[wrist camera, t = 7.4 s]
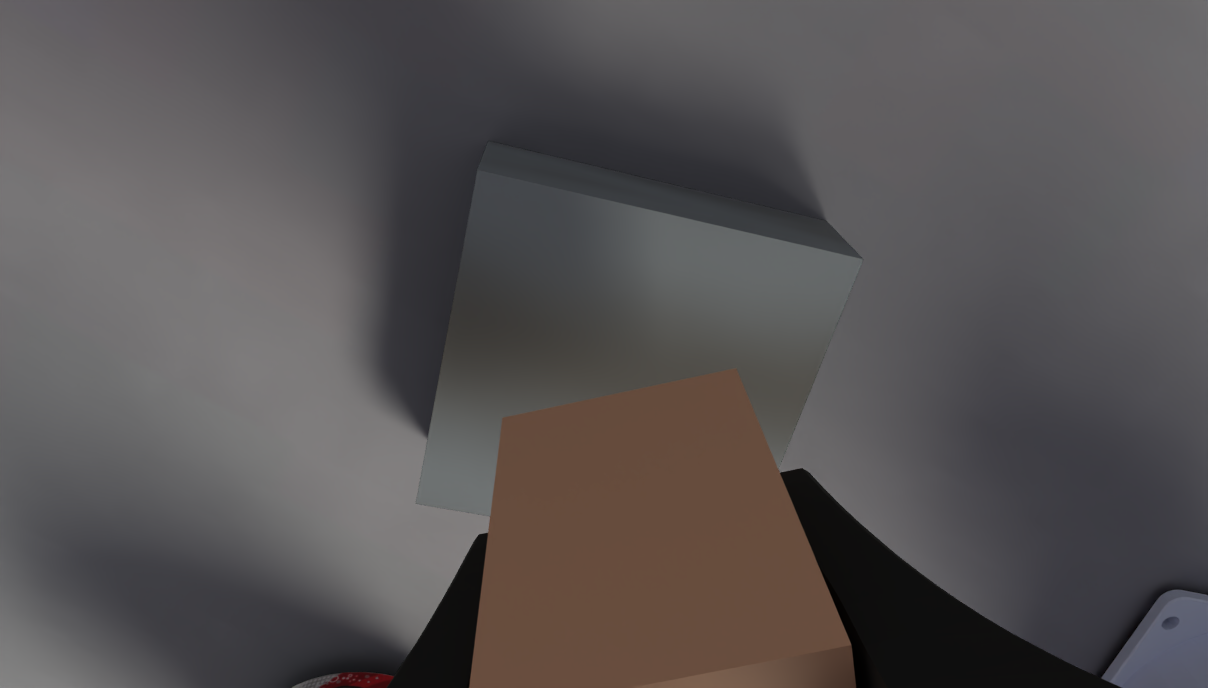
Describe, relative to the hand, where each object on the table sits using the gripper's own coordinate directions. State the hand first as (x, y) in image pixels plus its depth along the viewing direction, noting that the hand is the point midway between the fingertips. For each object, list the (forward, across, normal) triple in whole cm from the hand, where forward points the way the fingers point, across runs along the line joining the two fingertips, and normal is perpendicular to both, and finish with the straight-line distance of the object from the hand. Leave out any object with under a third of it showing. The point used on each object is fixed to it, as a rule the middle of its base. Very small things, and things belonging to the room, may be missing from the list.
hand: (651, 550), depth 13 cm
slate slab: (+8, 0, 0) cm, 8 cm away
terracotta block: (+2, 0, 0) cm, 2 cm away
